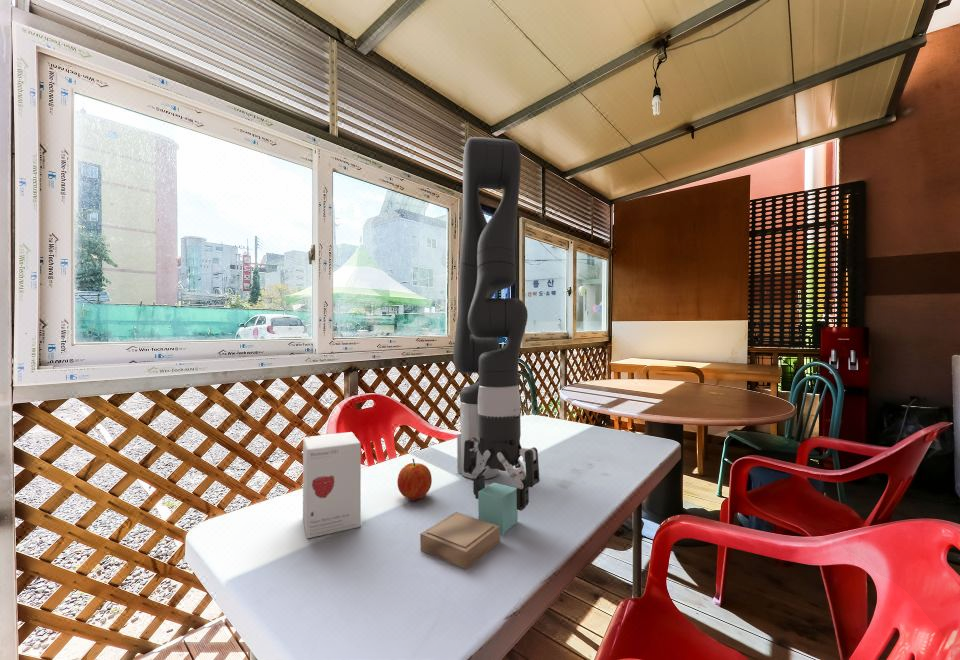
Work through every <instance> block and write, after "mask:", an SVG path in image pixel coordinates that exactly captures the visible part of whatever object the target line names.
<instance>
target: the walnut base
mask: <svg viewBox="0 0 960 660" xmlns="http://www.w3.org/2000/svg"><path fill="white" fill-rule="evenodd" d="M419 534H420V537H419V538H420V539H419V540H420V544H419V545H420V548H419V549H420V551H422V552H424V553H427V554H430V555H432V556H434V557H437V558H438V559H441V560H444V561H445V562H448V563H450V564H453V565H455V566H458V567H460V568H462V569H465V570H468V569H469V568H470V567H471V566H472V565H473V564H475V563H476V562H477V561H478V560H480V558H482V557H483V556H484V555H486V554H487V553H489V551H490V550H492V549H493V548H494V547H495V546H497V544H499V543H500V542H501V533H500V526H498V525H495V524H492V523H489V522H485V521H482V520H479V518H476V517H473V516H470V515H467V514H463V513H461V512H457V511H456V512H454V513H452V514H450V515H448V516H446V518H444V519H443V520H440V521H439V522H438V523H436V524H434V525H432V526H431V527H429V528H428V529H426V530H425V531H422V532H420V533H419Z"/></svg>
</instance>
